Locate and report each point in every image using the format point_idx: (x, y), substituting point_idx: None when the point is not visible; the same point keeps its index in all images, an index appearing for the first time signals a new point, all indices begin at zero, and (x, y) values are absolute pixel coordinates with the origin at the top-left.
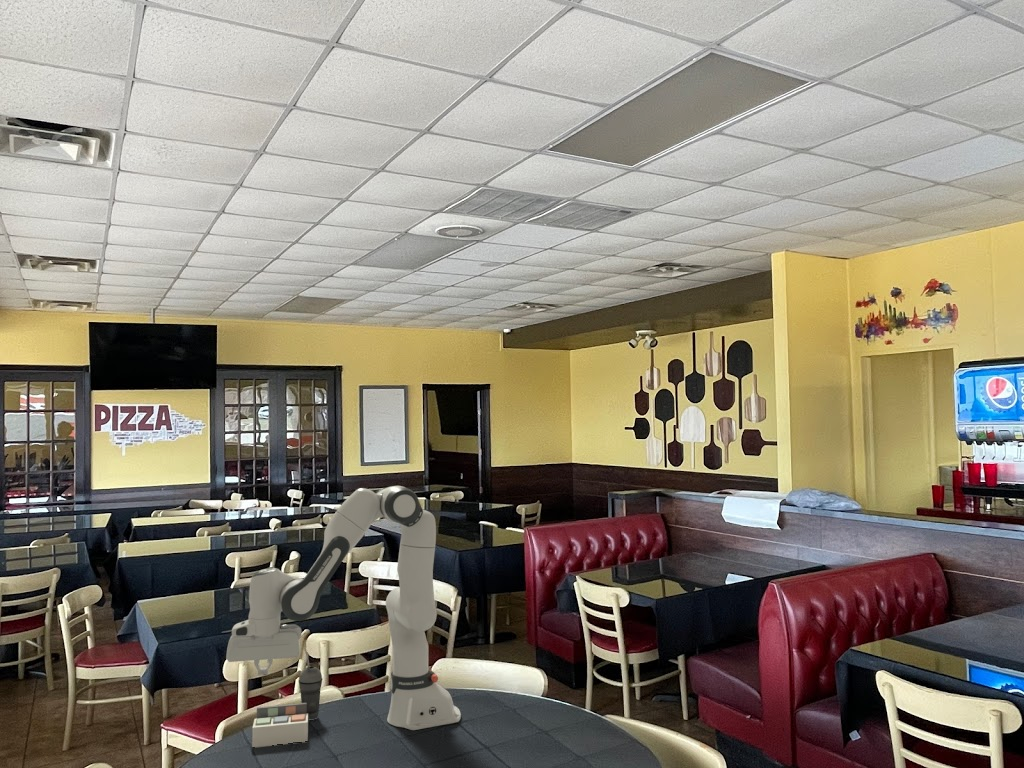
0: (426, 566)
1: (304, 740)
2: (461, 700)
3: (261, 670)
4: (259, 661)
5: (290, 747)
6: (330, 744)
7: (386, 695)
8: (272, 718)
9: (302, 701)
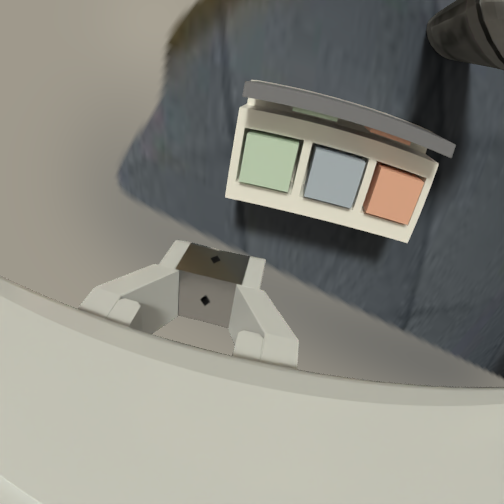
0: None
1: None
2: None
3: (191, 311)
4: (140, 327)
5: (340, 225)
6: (430, 258)
7: None
8: (307, 139)
9: (450, 33)
